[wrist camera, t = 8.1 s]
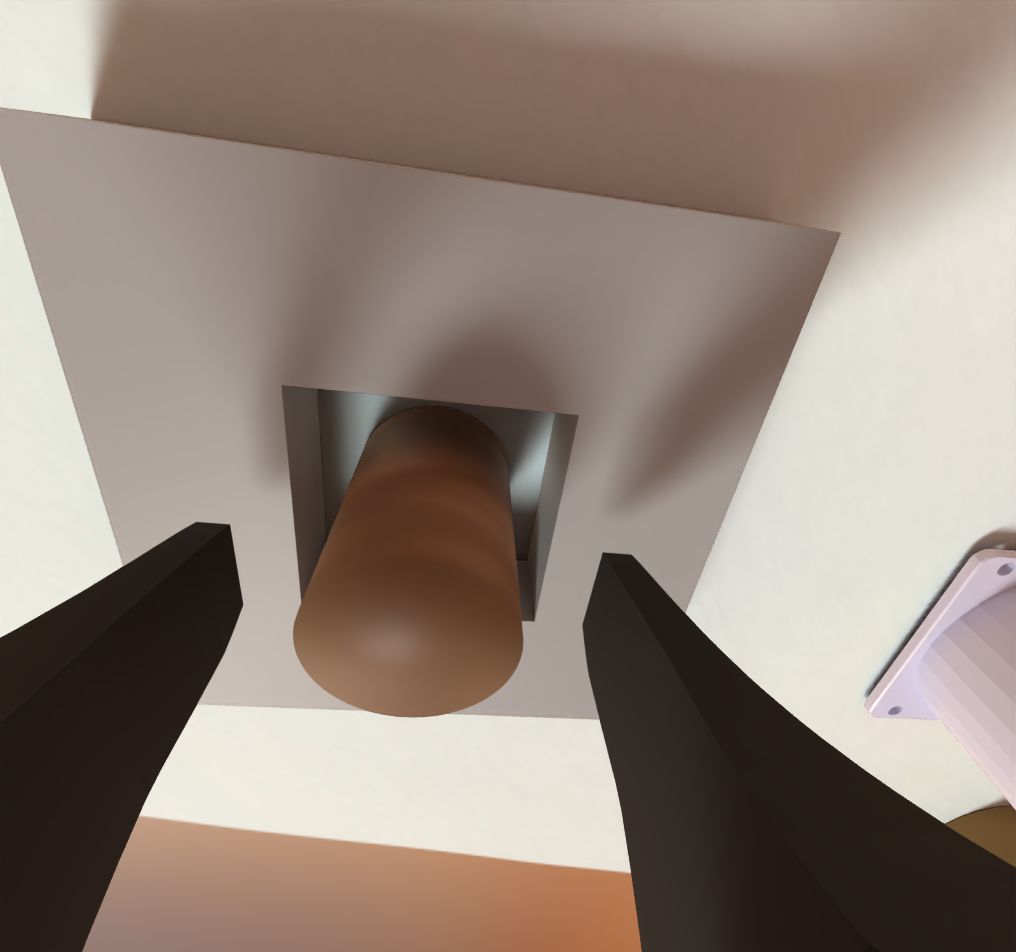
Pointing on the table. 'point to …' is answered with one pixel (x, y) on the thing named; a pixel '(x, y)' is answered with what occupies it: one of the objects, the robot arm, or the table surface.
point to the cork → (991, 831)
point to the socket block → (398, 359)
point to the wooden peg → (417, 573)
